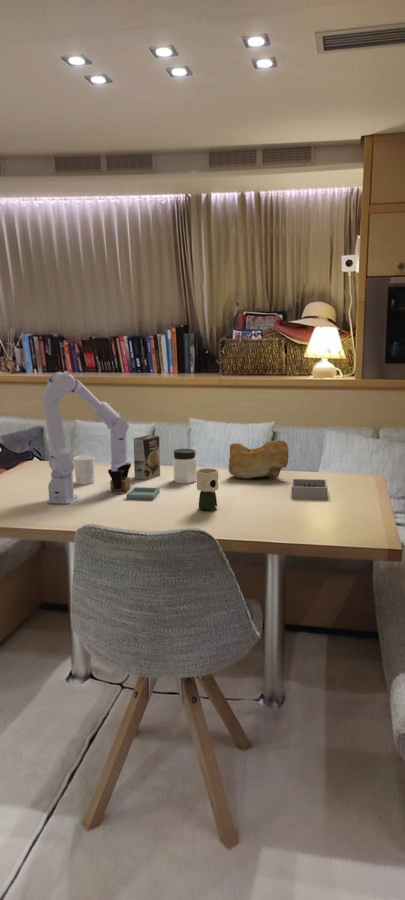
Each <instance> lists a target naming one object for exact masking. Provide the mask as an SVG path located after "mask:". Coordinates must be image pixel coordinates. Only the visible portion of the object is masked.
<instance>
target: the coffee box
mask: <svg viewBox="0 0 405 900" xmlns="http://www.w3.org/2000/svg"><path fill="white" fill-rule="evenodd" d="M160 451H161V450H160V436H158V435H149V434H147V435H142V436H138V437H135V438H133V460H134V461H133V462H134V463H133V465H134V466H133V467H134V479H138V480H144V481H148V480H151V479H154V478H156V477H160V476H161V459H160V458H161V457H160V456H161V455H160Z"/></svg>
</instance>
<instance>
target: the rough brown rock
mask: <svg viewBox="0 0 405 900" xmlns="http://www.w3.org/2000/svg"><path fill="white" fill-rule="evenodd" d="M289 457H290V456H289V446H288V444H287V442H286V441H285V440H269V441H266V442H265V443H264V444H263V445H261V446H259V447H256V448H248V447H247V446H245V445H243V444H242V443H239V442H237V443H231V444H230V445H229V459H228V472H229V475H231V476H234V477H235V478H240V479H251V478H263V477H267V478H269V479H272V478H276V479H277V478H279V476H280V473H281V471H282V469H283V468H286V467H287V466H288V465H289Z"/></svg>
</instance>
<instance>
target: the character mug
mask: <svg viewBox="0 0 405 900" xmlns="http://www.w3.org/2000/svg"><path fill="white" fill-rule="evenodd" d="M196 490H198V491H199V497H198V509H201V510H204V511H213V510H216V509H217V507H218V500H217V495H216V494H217V493H216V491H218V490H219V469H217V468H213V467H211V468H210V467H204V468H198V469H196Z"/></svg>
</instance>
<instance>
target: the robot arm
mask: <svg viewBox="0 0 405 900" xmlns="http://www.w3.org/2000/svg"><path fill="white" fill-rule="evenodd" d="M45 386H46V387H45V389H44V392H43V394H42V398H41V400H42V405H43V410H44V416H45V422H46V427H47V434H48V438H49V440H48V441H49V445H50V450H49V455H50V456H49V460H48V466H49V468H50V469H51V473H50V474H51V475H50V479H51V480H50V481H49V483H48V487H47V488H48V489H47V490H48V498H49V499H48V500H47V501H46V504H63V505H64V504H65V505H67V504H70V503H72V502H73V501H74V500H75V499H76V498H78V496H79V495H78V494H74V480H73V479H74V478H73V476H74V475H73V472H74V470H75V468H74V461H72V459H71V457H70V453H69V451H68V448H67V445H66V440H65V434H64V427H63V422H62V415H61V410H60V404H59V403H60V401H61V400H62V399H63V398H64V397H65V396H66V395H67V394H69V393H72V394H77V396H79V397H80V398H81V399H82V400H84V401H85V402H86V403H87V404H89V406H90V407H92V408H93V414H94V415H95V416H96V417H97V418H98V419H100V420H101V422H102V423H104V424H105V425H106V426H107V428H108V429H107V430H109V432H110V453H111V455H110V456H111V457H110V459H111V461H110V464H111V466H110V469H108V470H107V473H108V475H109V476H110V478H111V480H112V481H113V485H114V488H115V489H121V483H122V477H129V472H130V469H131V466H132V462H131V460H128V446H127V445H128V443H127V432H128V430H129V428H130V425H129V424H128V420H126V418H123V417H121V413H120V412H118V411H116V410H115V409H113V407H111V406H112V404H111V403H110V402H106V401H100V400H99V399H98V398H97V397H96V396H95V395H94V394H93V393H92V392H91V391H90V390H89V389H88V388H87V387H86V386H85V385H84V384H83V383H82V382H81V381H80V380H79V379H77V378H75V377H74V375H72V374H71V373H64V372H61V371H56V372H54V373H53V374H51V376H50V377H49V378H48V379H47V383H46V385H45Z"/></svg>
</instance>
